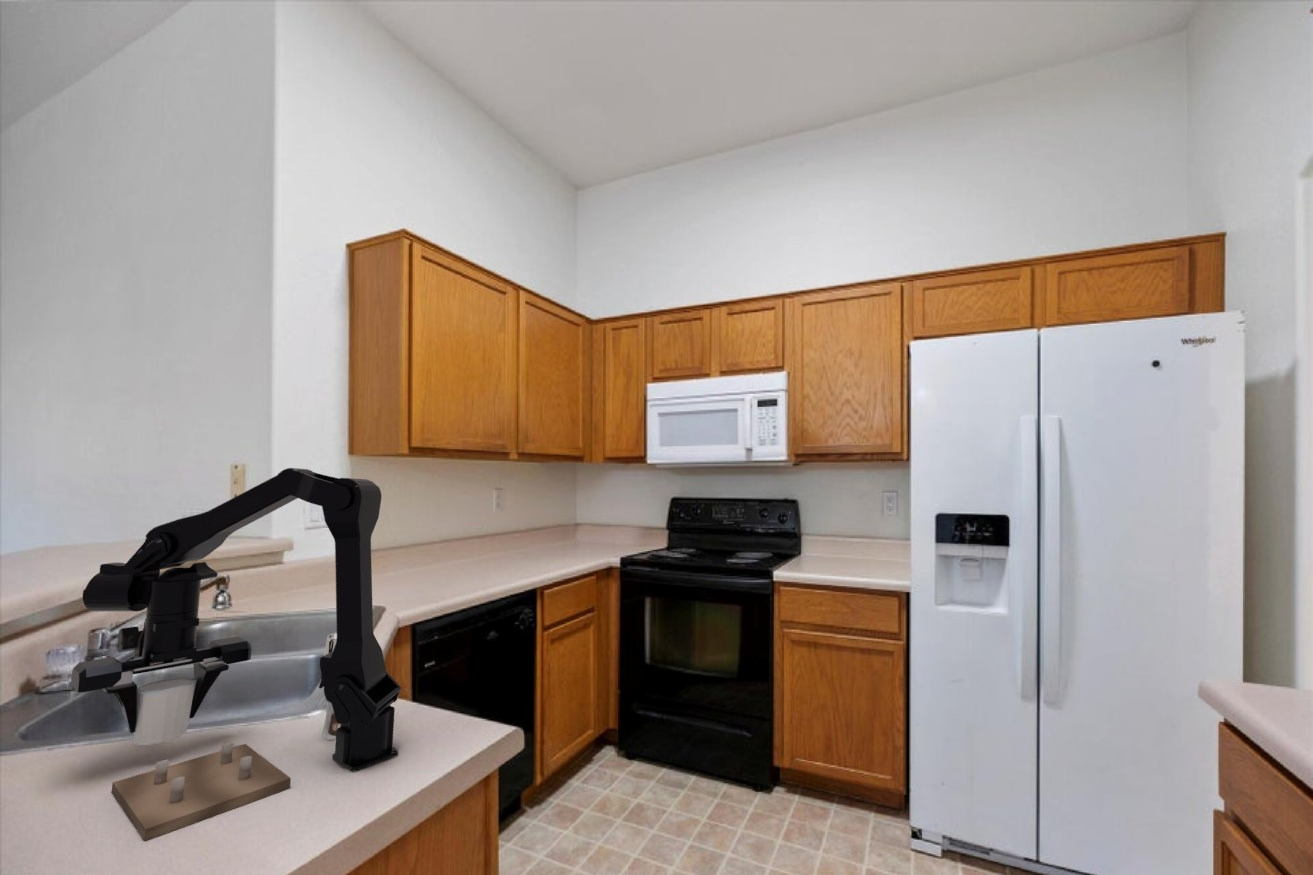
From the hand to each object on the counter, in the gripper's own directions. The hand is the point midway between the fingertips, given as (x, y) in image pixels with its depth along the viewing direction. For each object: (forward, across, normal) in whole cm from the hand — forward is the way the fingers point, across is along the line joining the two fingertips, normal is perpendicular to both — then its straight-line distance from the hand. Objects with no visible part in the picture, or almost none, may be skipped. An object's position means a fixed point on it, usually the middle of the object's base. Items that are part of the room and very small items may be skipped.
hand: (162, 724), depth 79 cm
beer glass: (+5, -20, +11) cm, 23 cm away
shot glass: (+2, 0, 0) cm, 2 cm away
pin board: (+5, -1, +15) cm, 16 cm away
